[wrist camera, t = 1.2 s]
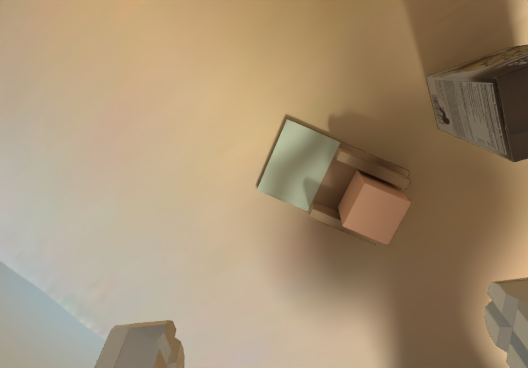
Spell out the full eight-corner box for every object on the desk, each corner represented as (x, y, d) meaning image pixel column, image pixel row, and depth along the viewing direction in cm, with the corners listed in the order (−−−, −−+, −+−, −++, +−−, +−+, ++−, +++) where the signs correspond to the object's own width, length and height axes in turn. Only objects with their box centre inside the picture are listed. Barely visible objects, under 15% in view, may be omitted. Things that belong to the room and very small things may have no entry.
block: (397, 186, 44) (411, 203, 38) (377, 223, 45) (387, 245, 39) (357, 168, 43) (364, 183, 38) (337, 207, 45) (342, 226, 39)
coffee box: (514, 43, 39) (651, 22, 24) (526, 104, 40) (662, 122, 25) (423, 75, 41) (495, 74, 25) (437, 132, 42) (514, 165, 27)
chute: (408, 171, 44) (417, 179, 40) (372, 237, 46) (377, 250, 43) (287, 118, 43) (285, 122, 40) (257, 188, 46) (253, 197, 43)
